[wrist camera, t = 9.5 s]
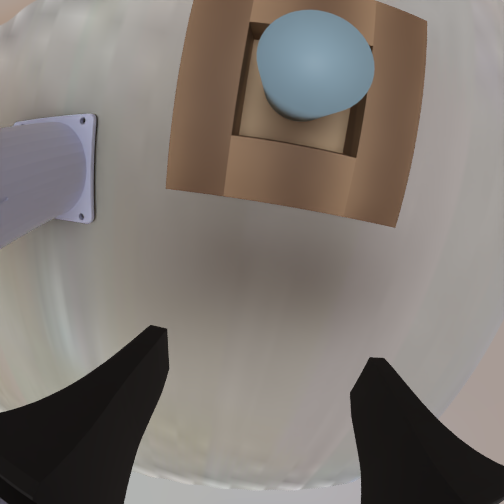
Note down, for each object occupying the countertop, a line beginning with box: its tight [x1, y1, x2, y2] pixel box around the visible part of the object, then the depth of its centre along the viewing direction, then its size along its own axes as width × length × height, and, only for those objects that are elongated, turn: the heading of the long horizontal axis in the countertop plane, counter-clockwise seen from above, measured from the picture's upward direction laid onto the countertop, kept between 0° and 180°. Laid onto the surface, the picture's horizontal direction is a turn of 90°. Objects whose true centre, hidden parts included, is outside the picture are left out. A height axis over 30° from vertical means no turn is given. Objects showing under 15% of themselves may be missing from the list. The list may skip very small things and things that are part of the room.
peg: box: [257, 10, 375, 122], centre depth 11 cm, size 4×4×7 cm
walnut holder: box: [166, 0, 427, 228], centre depth 13 cm, size 12×12×4 cm
